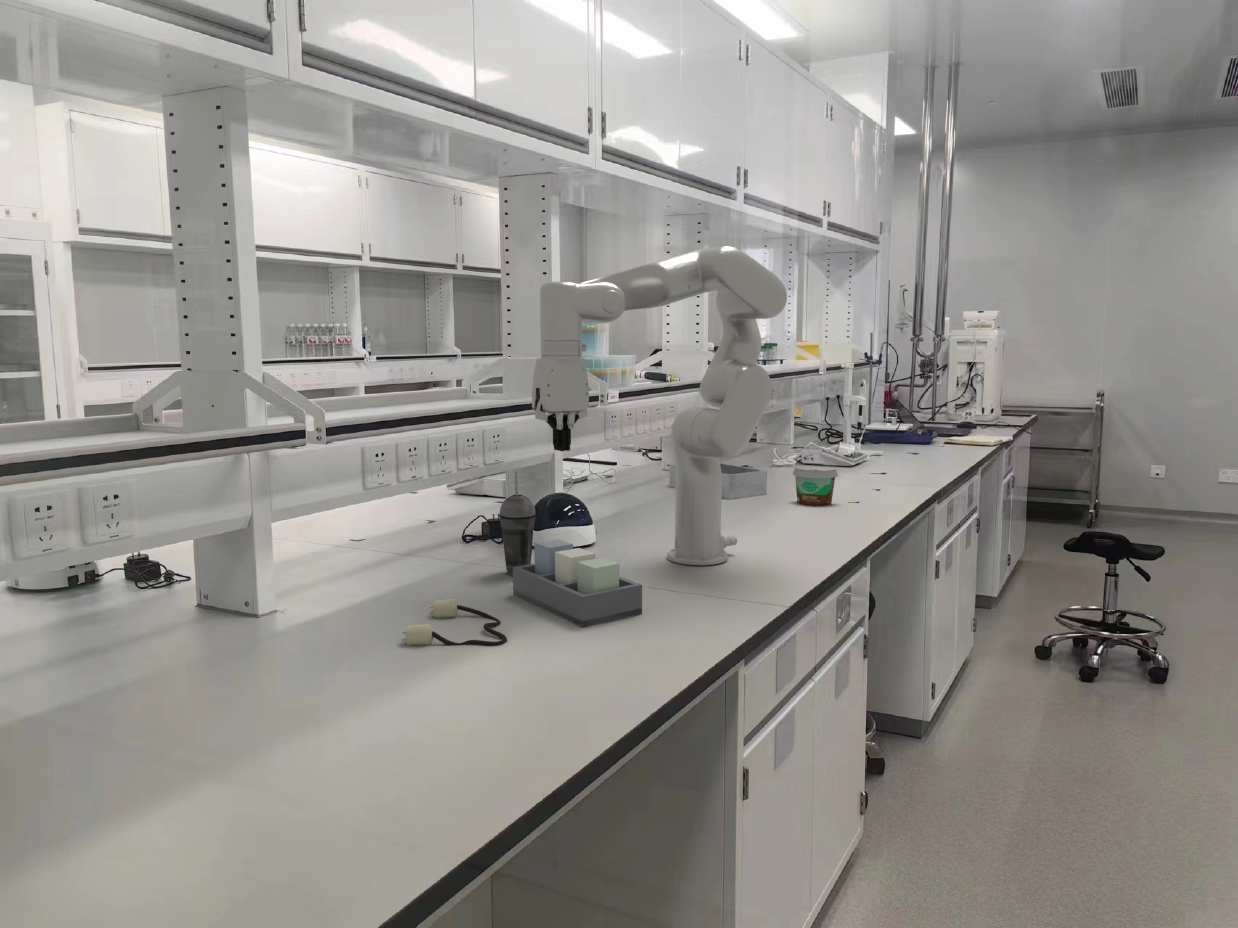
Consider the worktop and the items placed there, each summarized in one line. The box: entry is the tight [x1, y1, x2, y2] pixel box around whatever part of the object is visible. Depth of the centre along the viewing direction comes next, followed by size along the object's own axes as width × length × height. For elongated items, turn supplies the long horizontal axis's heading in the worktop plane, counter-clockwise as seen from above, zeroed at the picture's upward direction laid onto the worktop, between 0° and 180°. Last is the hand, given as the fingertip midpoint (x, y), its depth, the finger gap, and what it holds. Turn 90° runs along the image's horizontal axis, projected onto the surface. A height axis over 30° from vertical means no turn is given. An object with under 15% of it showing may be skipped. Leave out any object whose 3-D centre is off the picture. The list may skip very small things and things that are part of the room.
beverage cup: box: [498, 471, 537, 577], centre depth 171 cm, size 7×7×20 cm
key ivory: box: [555, 547, 596, 584], centre depth 152 cm, size 5×5×6 cm
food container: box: [792, 467, 839, 507], centre depth 244 cm, size 12×6×10 cm, turn 73°
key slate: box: [533, 538, 574, 575], centre depth 158 cm, size 5×5×6 cm
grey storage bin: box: [669, 462, 768, 500], centre depth 267 cm, size 15×27×7 cm, turn 36°
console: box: [512, 563, 643, 628], centre depth 153 cm, size 12×22×5 cm, turn 36°
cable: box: [400, 598, 508, 647], centre depth 139 cm, size 16×16×4 cm
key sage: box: [577, 557, 620, 594], centre depth 146 cm, size 5×5×6 cm
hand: (561, 450), depth 164 cm, fingers closed
